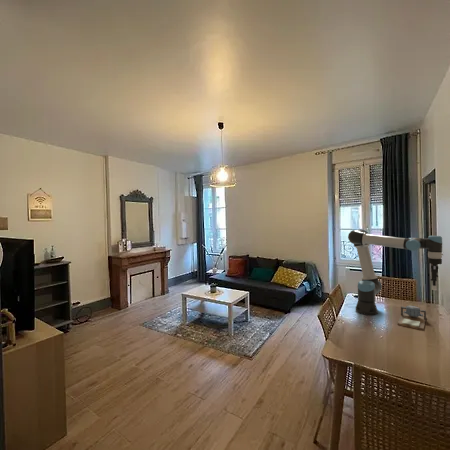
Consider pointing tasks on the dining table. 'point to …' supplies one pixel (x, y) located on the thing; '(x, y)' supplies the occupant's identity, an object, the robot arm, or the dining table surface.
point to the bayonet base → (412, 320)
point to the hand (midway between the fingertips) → (434, 287)
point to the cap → (413, 311)
